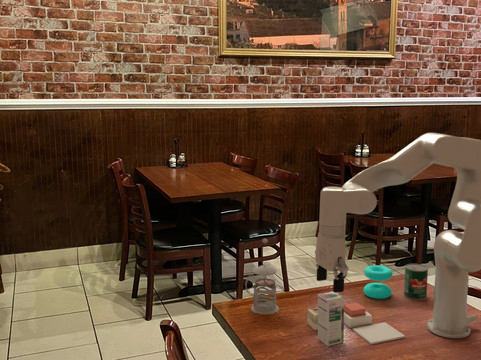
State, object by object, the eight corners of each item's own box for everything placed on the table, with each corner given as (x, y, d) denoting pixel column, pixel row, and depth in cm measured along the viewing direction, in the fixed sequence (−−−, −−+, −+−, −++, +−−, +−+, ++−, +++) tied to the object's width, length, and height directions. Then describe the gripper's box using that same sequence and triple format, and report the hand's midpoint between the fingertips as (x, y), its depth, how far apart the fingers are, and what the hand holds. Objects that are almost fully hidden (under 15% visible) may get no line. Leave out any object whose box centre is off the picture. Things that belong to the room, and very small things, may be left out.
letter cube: (320, 321, 171) (321, 306, 170) (328, 327, 166) (328, 312, 165) (307, 323, 169) (307, 308, 168) (314, 330, 164) (314, 314, 164)
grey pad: (385, 324, 168) (385, 322, 168) (404, 337, 159) (404, 335, 159) (352, 330, 164) (352, 328, 164) (371, 344, 155) (371, 342, 155)
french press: (281, 314, 176) (281, 242, 172) (246, 315, 176) (246, 243, 171) (277, 302, 186) (277, 234, 182) (244, 303, 185) (244, 235, 181)
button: (356, 311, 173) (356, 302, 173) (365, 317, 169) (365, 308, 168) (343, 313, 172) (343, 304, 171) (351, 319, 167) (352, 310, 166)
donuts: (369, 262, 197) (395, 267, 192) (368, 287, 199) (394, 292, 194) (360, 270, 189) (388, 275, 184) (359, 296, 190) (387, 302, 185)
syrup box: (327, 347, 154) (328, 300, 151) (316, 338, 159) (317, 293, 156) (343, 343, 156) (345, 297, 153) (332, 334, 161) (333, 290, 159)
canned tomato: (414, 290, 196) (415, 262, 194) (431, 297, 189) (432, 268, 187) (399, 294, 192) (400, 265, 190) (416, 301, 185) (417, 272, 183)
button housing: (357, 314, 176) (358, 305, 175) (371, 324, 168) (372, 315, 168) (337, 318, 173) (337, 309, 172) (350, 328, 165) (350, 319, 165)
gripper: (306, 223, 158) (304, 277, 161) (336, 238, 142) (333, 298, 145) (328, 221, 161) (326, 274, 164) (359, 236, 145) (356, 295, 148)
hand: (329, 285), depth 154 cm, fingers open, 9 cm apart
